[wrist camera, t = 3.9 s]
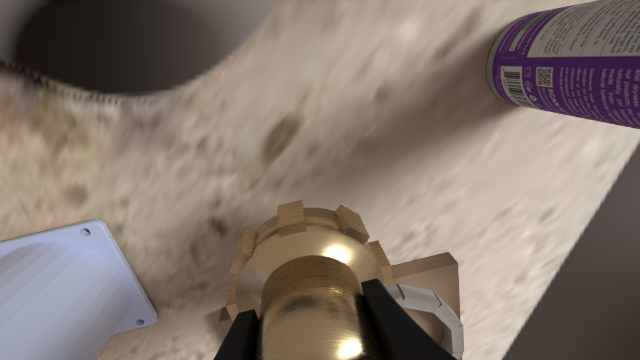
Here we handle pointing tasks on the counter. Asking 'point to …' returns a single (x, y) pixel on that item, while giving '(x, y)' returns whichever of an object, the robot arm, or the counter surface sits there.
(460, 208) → the counter surface
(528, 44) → the container
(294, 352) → the planet gear
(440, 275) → the carrier board
